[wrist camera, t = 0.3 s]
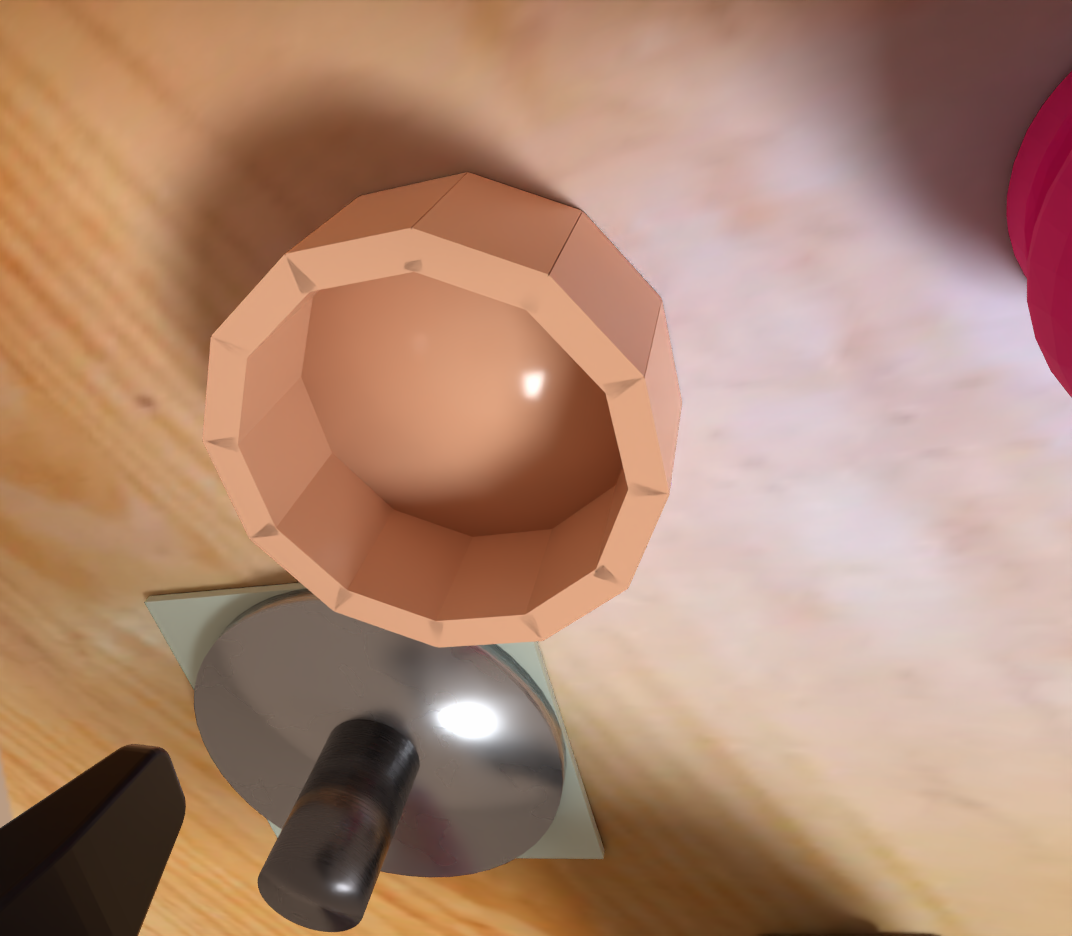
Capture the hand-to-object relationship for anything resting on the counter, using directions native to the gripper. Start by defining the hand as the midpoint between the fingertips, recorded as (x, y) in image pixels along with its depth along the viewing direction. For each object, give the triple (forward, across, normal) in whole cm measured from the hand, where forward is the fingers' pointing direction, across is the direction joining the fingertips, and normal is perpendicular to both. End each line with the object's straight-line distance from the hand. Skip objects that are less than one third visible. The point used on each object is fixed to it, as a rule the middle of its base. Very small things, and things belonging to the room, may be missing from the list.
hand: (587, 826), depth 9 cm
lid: (+14, +9, +14) cm, 22 cm away
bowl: (+14, +5, +2) cm, 15 cm away
